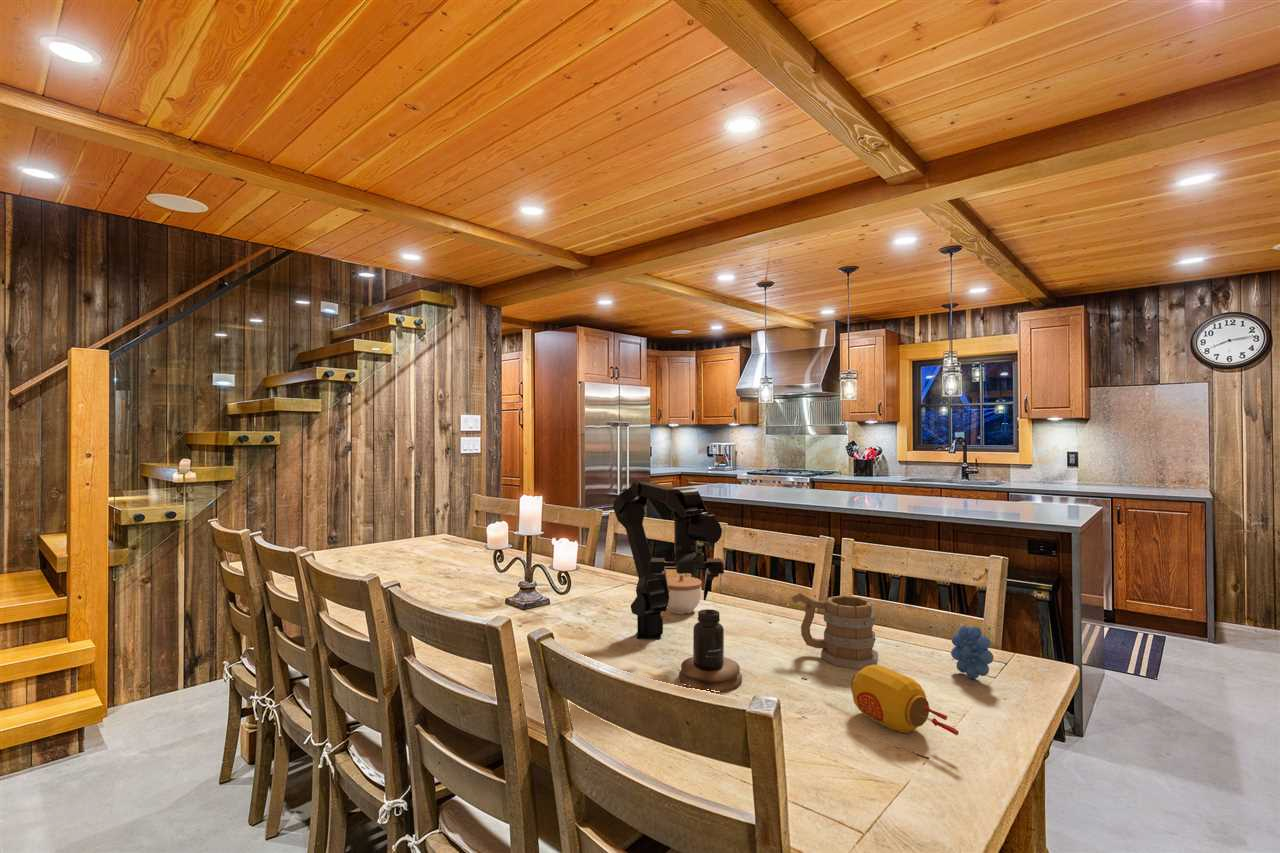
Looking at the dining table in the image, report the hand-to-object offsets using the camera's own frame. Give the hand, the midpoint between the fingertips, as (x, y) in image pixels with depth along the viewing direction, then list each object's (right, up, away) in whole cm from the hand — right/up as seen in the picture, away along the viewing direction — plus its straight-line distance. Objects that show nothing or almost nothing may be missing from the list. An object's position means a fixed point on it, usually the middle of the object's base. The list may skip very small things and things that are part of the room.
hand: (686, 599), depth 154 cm
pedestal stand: (+4, -13, -17) cm, 22 cm away
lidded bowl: (+1, -13, +35) cm, 37 cm away
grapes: (+63, -13, -18) cm, 67 cm away
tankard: (+36, -13, -4) cm, 38 cm away
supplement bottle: (+4, -10, -17) cm, 20 cm away
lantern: (+35, -13, -38) cm, 54 cm away
